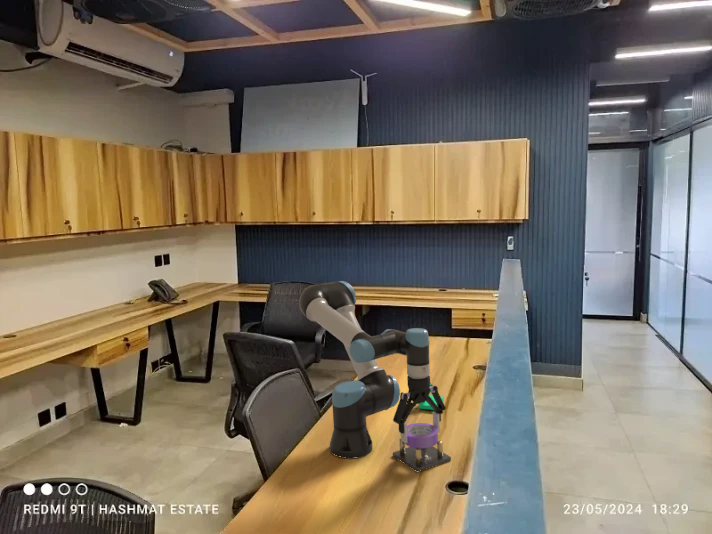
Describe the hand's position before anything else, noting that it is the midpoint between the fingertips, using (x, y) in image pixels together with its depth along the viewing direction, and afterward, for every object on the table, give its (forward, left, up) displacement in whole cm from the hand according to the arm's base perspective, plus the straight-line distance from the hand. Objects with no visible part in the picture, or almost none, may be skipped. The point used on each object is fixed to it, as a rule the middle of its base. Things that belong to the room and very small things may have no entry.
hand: (420, 436), depth 179 cm
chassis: (0, 0, -8) cm, 8 cm away
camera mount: (+32, +34, -8) cm, 48 cm away
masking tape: (0, 0, -2) cm, 2 cm away
